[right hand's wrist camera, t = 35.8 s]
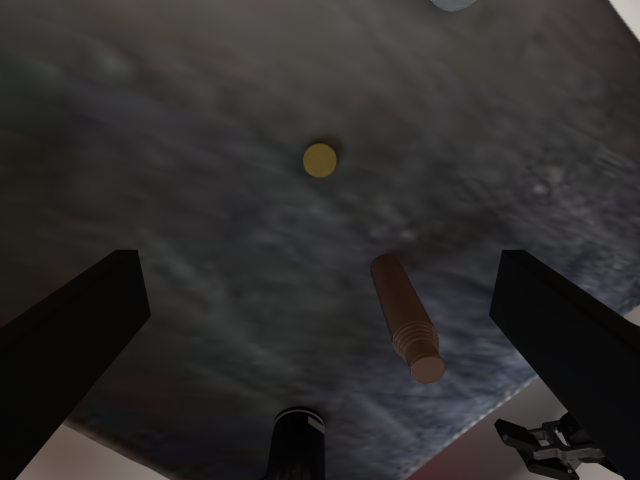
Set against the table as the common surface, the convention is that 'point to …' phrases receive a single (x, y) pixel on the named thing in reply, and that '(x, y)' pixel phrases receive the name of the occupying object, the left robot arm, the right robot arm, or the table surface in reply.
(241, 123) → the table surface
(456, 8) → the ballet flat
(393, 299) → the bottle
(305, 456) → the left robot arm
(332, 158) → the cap
